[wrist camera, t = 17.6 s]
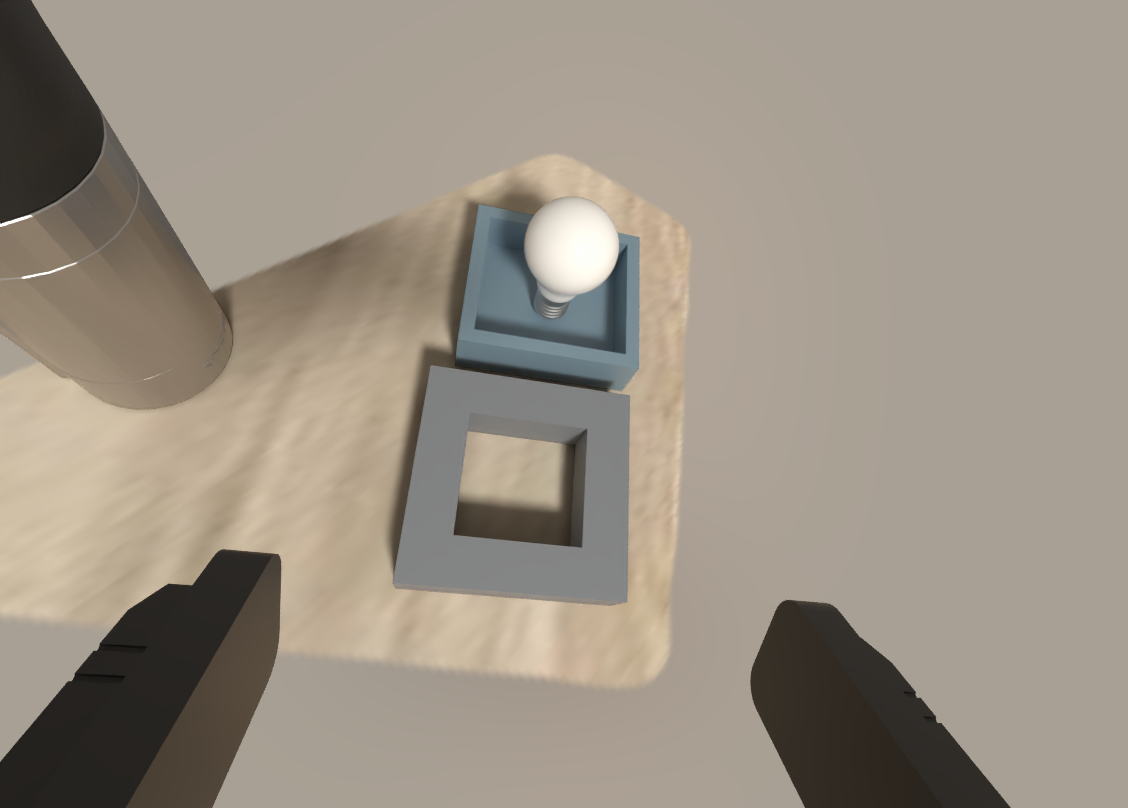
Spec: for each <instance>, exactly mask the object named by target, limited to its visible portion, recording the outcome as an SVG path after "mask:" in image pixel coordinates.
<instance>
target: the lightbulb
mask: <svg viewBox="0 0 1128 808" xmlns="http://www.w3.org/2000/svg"><path fill="white" fill-rule="evenodd" d="M618 253H619V237H618V233H617V229H616V227H615V224H614V222H613V220H612V219H611V217H610V216H609V214H608V213H607V212H606V211H605V210H604V209H603V208H602V207H601V206H599V205H598V204H597V203H595V202H593V201H591V200H589V199H586V198H582V197H577V196H567V197H561V198H557V199H555V200H552V201H550V202H549V203H547V204H545V205H544V206H543V207H541V208H540V209H539V210H538V211H537V212H536V214H535V215H534V216H533V218H532V219H531V221H530V223H529V225H528V227H527V230H526V233H525V238H524V254H525V259H526V262H527V265H528V267H529V269H530V271H531V273H532V274H533V276H534V277H535V278H536V280H537V286H538V289H537V292H536V295H535V298H534V308H535V310H536V312H537V313H538V314H539V315H540V316H541V317H543V318H545V319H549V320H556V319H559V318H561V317H562V316H563V315H564V314H565V313H566V311H567V308H568V306H569V304H570V301H571V300H572V299H573V298H574V297H575V296H576V295H580V294H584V293H587V292H589V291H592V290H594V289H595V288H597V287H598V286H600V285H601V284H602V283H603V282H604V281H605V280H606V279H607V278H608V277H609V275H610V274H611V272H612V271H613V269H614V267H615V264H616V262H617V258H618Z"/></svg>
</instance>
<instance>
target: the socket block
mask: <svg viewBox="0 0 1128 808" xmlns="http://www.w3.org/2000/svg"><path fill="white" fill-rule="evenodd" d="M629 420H630V395H624V394H617V393H611V392H604V391H598V390H591V389H584V388H578V387H571V386H565V385H558V384H552V383H545V382H538V381H532V380H525V379H519V378H512V377H506V376H499V375H492V374H486V373H479V372H473V371H466V370H460V369H453V368H446V367H440V366H433V365H431V366H430V372H429V378H428V384H427V389H426V395H425V401H424V407H423V412H422V418H421V424H420V429H419V435H418V441H417V447H416V452H415V458H414V464H413V469H412V475H411V481H410V487H409V492H408V498H407V504H406V509H405V515H404V521H403V527H402V532H401V538H400V544H399V549H398V555H397V561H396V567H395V572H394V578H393V584H394V586H395V588H397V589H410V590H422V591H434V592H447V593H459V594H472V595H484V596H496V597H509V598H521V599H534V600H546V601H558V602H571V603H583V604H596V605H608V606H611V605H616V604H621V603H626V602H627V592H628V506H629ZM467 431H473V432H480V433H488V434H495V435H503V436H510V437H518V438H525V439H533V440H540V441H548V442H555V443H563V444H571V445H575V459H574V478H573V496H572V515H571V534H570V547H569V546H559V545H549V544H539V543H529V542H519V541H509V540H499V539H489V538H478V537H468V536H458V535H453V533H454V526H455V518H456V511H457V504H458V497H459V489H460V482H461V475H462V467H463V460H464V453H465V446H466V438H467Z"/></svg>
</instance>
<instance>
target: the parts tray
mask: <svg viewBox="0 0 1128 808" xmlns="http://www.w3.org/2000/svg"><path fill="white" fill-rule="evenodd" d="M533 216H534V215H530V214H525V213H520V212H515V211H510V210H505V209H501V208H496V207H491V206H486V205H481V204H479V206H478V213H477V219H476V225H475V232H474V238H473V245H472V251H471V257H470V264H469V270H468V277H467V283H466V289H465V296H464V302H463V309H462V315H461V322H460V328H459V334H458V341H457V351H456V360H455V366H462V367H468V368H475V369H481V370H488V371H494V372H501V373H507V374H514V375H520V376H527V377H533V378H540V379H547V380H553V381H560V382H566V383H573V384H579V385H586V386H592V387H599V388H605V389H612V390H618V391H622V390H623V388H624V387H625V386H626V385H627V383H628V382H629V381H630V379H631V378H632V377H633V376H634V374H635V373H636V372H637V370H638V369H639V238H640V237H636V236H631V235H626V234H622V233H618V237H619V253H618V258H617V262H616V264H615V267H614V269H613V271H612V272H611V274H610V275H609V277H608V278H607V279H606V280H605V281H604V282H603V283H602V284H601V285H600V286H598V287H597V288H595V289H594V290H592V291H589V292H587V293H584V294H580V295H576V296H575V297H574V298H573V299H572V300H571V301H570V304H569V306H568V308H567V311H566V313H565V314H564V315H563V316H562V317H561V318H559V319H556V320H549V319H545V318H543V317H541V316H540V315H539V314H538V313H537V312H536V310H535V308H534V298H535V295H536V292H537V289H538V286H537V280H536V278H535V277H534V276H533V274H532V273H531V271H530V269H529V267H528V265H527V262H526V259H525V254H524V238H525V233H526V230H527V227H528V225H529V223H530V221H531V219H532V218H533Z"/></svg>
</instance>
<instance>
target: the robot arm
mask: <svg viewBox="0 0 1128 808" xmlns="http://www.w3.org/2000/svg"><path fill="white" fill-rule="evenodd" d="M0 333H1V334H3V335H4V336H5V337H7V338H8V339H9V340H11V341H12V342H14V343H15V344H16V345H17V346H19V347H20V348H22V349H23V350H24V351H26V352H27V353H28V354H30V355H31V356H32V357H34V358H35V359H37V360H38V361H39V362H41V363H42V364H43V365H45V366H46V367H47V368H49V369H50V370H52V371H53V372H54V373H56V374H57V375H58V376H60V377H64V378H71V379H72V380H73V381H75V382H76V383H77V384H79V385H80V386H81V387H83V388H84V389H85V390H87V391H88V392H89V393H91V394H92V395H94V396H96V397H97V398H99V399H101V400H102V401H104V402H106V403H109V404H112V405H115V406H118V407H123V408H130V409H156V408H161V407H166V406H170V405H174V404H176V403H179V402H182V401H184V400H187V399H189V398H191V397H193V396H194V395H196V394H198V393H199V392H201V391H203V390H204V389H205V388H206V387H207V386H209V385H210V384H211V383H212V382H213V381H214V380H215V379H216V378H217V377H218V375H219V374H220V373H221V372H222V370H223V369H224V367H225V365H226V363H227V361H228V359H229V357H230V353H231V348H232V331H231V328H230V325H229V322H228V320H227V318H226V316H225V315H224V313H223V311H222V310H221V308H220V306H219V305H218V303H217V301H216V300H215V298H214V296H213V295H212V293H211V291H210V290H209V288H208V286H207V285H206V283H205V281H204V279H203V278H202V276H201V274H200V273H199V271H198V269H197V268H196V266H195V265H194V263H193V261H192V260H191V258H190V256H189V255H188V253H187V251H186V250H185V248H184V246H183V245H182V243H181V242H180V240H179V238H178V237H177V235H176V233H175V232H174V230H173V228H172V227H171V225H170V224H169V222H168V220H167V218H166V217H165V215H164V214H163V212H162V210H161V209H160V207H159V205H158V204H157V202H156V200H155V199H154V197H153V195H152V194H151V192H150V191H149V189H148V187H147V186H146V184H145V182H144V181H143V179H142V178H141V176H140V174H139V173H138V171H137V169H136V168H135V166H134V165H133V162H132V161H131V159H130V158H129V157H128V155H127V153H126V152H125V150H124V148H123V146H122V145H121V143H120V142H119V140H118V138H117V137H116V135H115V133H114V132H113V130H112V128H111V127H110V125H109V123H108V122H107V120H106V118H105V117H104V115H103V114H102V112H101V110H100V109H99V107H98V105H97V104H96V103H95V101H94V99H93V97H92V96H91V94H90V93H89V91H88V90H87V88H86V86H85V85H84V83H83V82H82V80H81V79H80V77H79V75H78V74H77V72H76V71H75V69H74V68H73V66H72V65H71V63H70V61H69V60H68V58H67V57H66V55H65V54H64V52H63V51H62V49H61V48H60V46H59V44H58V43H57V41H56V40H55V38H54V37H53V35H52V33H51V32H50V30H49V29H48V27H47V26H46V24H45V23H44V21H43V19H42V18H41V16H40V14H39V13H38V11H37V9H36V8H35V6H34V5H33V3H32V1H31V0H0ZM280 593H281V559H280V556H279V555H278V554H271V553H260V552H248V551H237V550H225V549H223V550H220V551H218V552H217V553H216V554H215V556H214V557H213V558H212V559H211V561H210V562H209V563H208V565H207V566H206V568H205V569H204V570H203V572H202V573H201V574H200V576H199V577H198V578H197V580H196V581H195V583H194V584H193V585H179V584H167V585H166V586H164V587H163V588H161V589H160V590H158V591H156V592H155V593H153V594H152V595H150V596H149V597H147V598H146V599H144V600H143V601H141V602H140V603H138V604H137V605H135V606H133V607H132V608H130V609H129V610H128V611H127V612H126V613H125V614H124V615H123V617H122V618H121V619H120V620H119V621H118V623H117V624H116V625H115V626H114V627H113V629H112V630H111V631H110V632H109V633H108V635H107V636H106V637H105V638H104V639H103V640H102V642H101V643H100V646H99V649H98V650H97V651H93V652H92V653H91V655H90V656H89V657H88V658H87V659H86V661H85V662H84V663H83V664H82V666H81V667H80V668H79V669H78V670H77V671H76V673H75V676H74V679H73V680H72V681H68V682H67V683H66V684H65V686H64V687H63V688H62V689H61V690H60V692H59V693H58V694H57V695H56V696H55V698H54V699H53V700H52V701H51V702H50V703H49V705H48V706H47V707H46V708H45V709H44V711H43V712H42V713H41V714H40V715H39V717H38V718H37V719H36V720H35V721H34V722H33V724H32V725H31V726H30V727H29V728H28V730H27V731H26V732H25V733H24V734H23V735H22V737H21V738H20V739H19V740H18V742H17V743H16V744H15V745H14V746H13V747H12V749H11V750H10V751H9V752H8V753H7V754H6V756H5V757H4V758H3V759H2V760H1V762H0V808H212V807H213V805H214V802H215V800H216V798H217V795H218V793H219V791H220V789H221V787H222V784H223V782H224V780H225V778H226V775H227V773H228V771H229V768H230V766H231V764H232V762H233V759H234V757H235V755H236V753H237V751H238V748H239V746H240V744H241V742H242V739H243V737H244V735H245V733H246V730H247V728H248V726H249V724H250V721H251V719H252V717H253V715H254V712H255V710H256V708H257V706H258V703H259V701H260V699H261V697H262V694H263V692H264V690H265V688H266V685H267V683H268V681H269V678H270V675H271V672H272V668H273V666H274V662H275V658H276V654H277V649H278V643H279V630H280ZM751 693H752V697H753V702H754V705H755V707H756V709H757V712H758V713H759V715H760V717H761V720H762V722H763V724H764V726H765V728H766V730H767V732H768V734H769V736H770V738H771V740H772V742H773V744H774V746H775V748H776V750H777V752H778V754H779V756H780V758H781V760H782V762H783V764H784V766H785V768H786V770H787V772H788V774H789V776H790V778H791V780H792V782H793V784H794V786H795V788H796V790H797V792H798V794H799V796H800V798H801V800H802V802H803V804H804V806H805V808H1010V806H1009V805H1008V804H1007V803H1006V801H1005V800H1004V799H1003V798H1002V797H1001V795H1000V794H999V793H998V792H997V791H996V789H995V788H994V787H993V786H992V784H991V783H990V782H989V781H988V780H987V778H986V777H985V776H984V775H983V774H982V772H981V771H980V770H979V769H978V767H977V766H976V765H975V764H974V763H973V761H972V760H971V759H970V758H969V756H968V755H967V754H966V753H965V751H964V750H963V749H962V748H961V747H960V745H959V744H958V743H957V742H956V741H955V739H954V738H953V737H952V736H951V734H950V733H949V732H948V731H947V730H946V729H945V727H944V726H943V725H942V723H937V722H936V716H935V715H934V714H933V712H932V711H931V710H930V709H929V708H928V706H927V705H926V704H925V703H924V702H923V700H922V699H921V698H917V697H916V695H915V693H916V692H915V691H914V689H913V688H912V687H911V686H910V684H909V683H908V682H907V681H906V680H905V679H904V677H903V676H902V675H901V674H900V672H899V671H898V670H897V669H896V667H895V666H894V665H893V664H892V663H891V662H890V661H889V660H888V659H886V658H885V657H884V656H883V655H882V654H880V653H879V652H878V651H877V650H875V649H874V648H873V647H872V646H871V645H869V644H868V643H867V642H866V641H864V640H863V639H862V638H860V637H859V636H858V634H857V633H856V632H855V631H854V629H853V628H852V627H851V626H850V625H849V623H848V622H847V621H846V619H845V618H844V617H843V616H842V614H841V613H840V612H839V611H838V610H837V609H836V608H835V607H834V606H833V605H831V604H827V603H818V602H806V601H795V600H794V601H793V600H786V601H783V602H782V603H781V604H780V605H779V606H778V607H777V609H776V611H775V614H774V616H773V619H772V621H771V624H770V626H769V628H768V631H767V633H766V635H765V638H764V640H763V643H762V645H761V648H760V650H759V652H758V655H757V657H756V659H755V662H754V665H753V667H752V671H751Z"/></svg>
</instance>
